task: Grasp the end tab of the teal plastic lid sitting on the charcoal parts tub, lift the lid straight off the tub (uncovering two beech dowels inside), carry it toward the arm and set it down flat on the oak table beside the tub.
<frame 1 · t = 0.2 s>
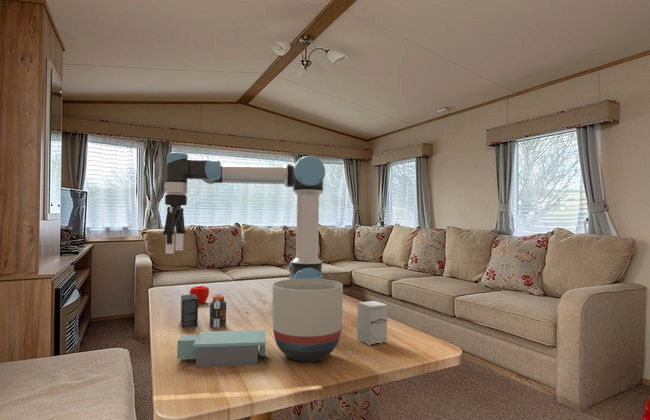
hand: (174, 252, 139), 28 cm above the table, fingers open, 13 cm apart
lid: (229, 339, 106), point 6 cm above the table, touching tub
pill bottle: (217, 326, 141), on the table
box: (188, 325, 143), on the table
dowel a: (241, 357, 107), point 1 cm above the table, touching tub
apple: (199, 303, 180), on the table
planter: (306, 358, 109), on the table
dowel b: (217, 359, 105), point 1 cm above the table, touching tub
supplement box: (371, 342, 125), on the table
tub: (229, 361, 106), on the table
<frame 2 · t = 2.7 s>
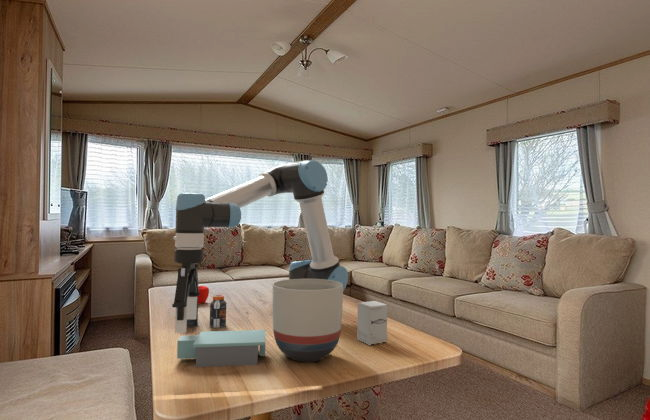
hand: (186, 325, 104), 10 cm above the table, fingers open, 13 cm apart
nothing on the table moved.
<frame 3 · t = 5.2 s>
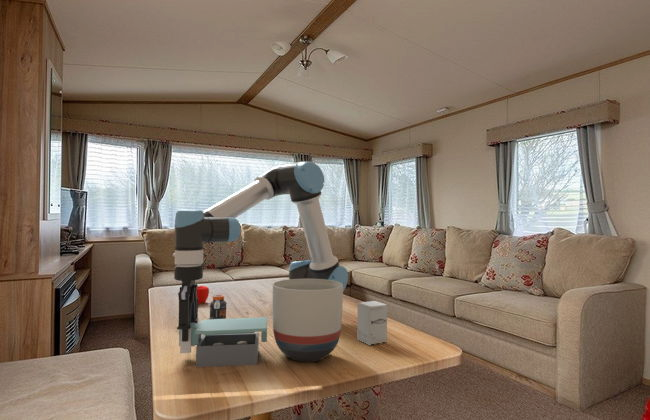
hand: (187, 349, 105), 4 cm above the table, fingers closed on lid, 4 cm apart
lid: (231, 326, 107), point 10 cm above the table, touching gripper
everything else where it was.
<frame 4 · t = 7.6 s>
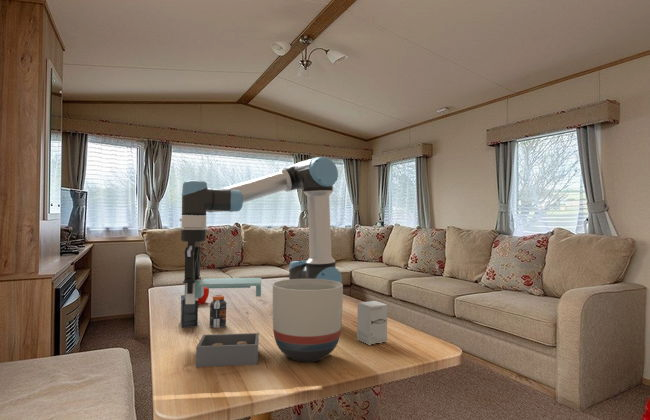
hand: (191, 301, 120), 13 cm above the table, fingers closed on lid, 4 cm apart
lid: (229, 283, 122), point 19 cm above the table, touching gripper
everything else where it was.
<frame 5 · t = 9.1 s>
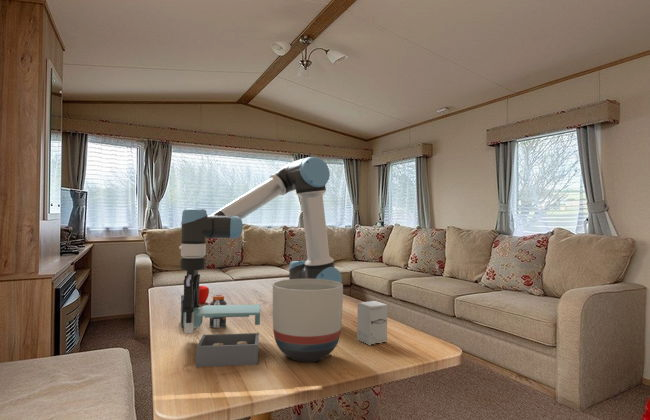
hand: (190, 330, 120), 4 cm above the table, fingers closed on lid, 4 cm apart
lid: (228, 311, 122), point 10 cm above the table, touching gripper
everything else where it was.
when the fingers open (0 cm above the table, at t = 10.2 s): lid drops 2 cm, point 4 cm above the table.
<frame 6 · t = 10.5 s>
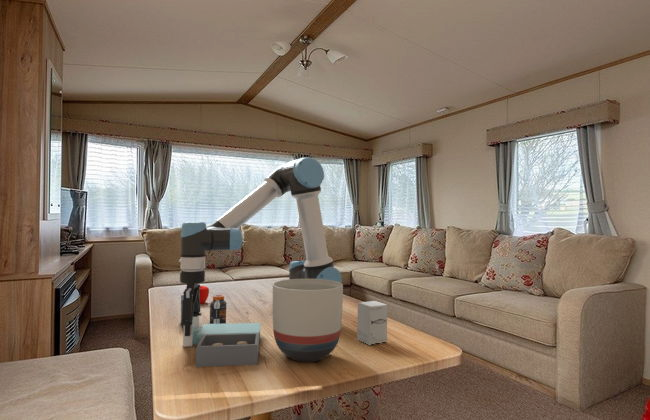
hand: (191, 341, 120), 1 cm above the table, fingers open, 9 cm apart
lid: (228, 330, 122), point 4 cm above the table
everything else where it was.
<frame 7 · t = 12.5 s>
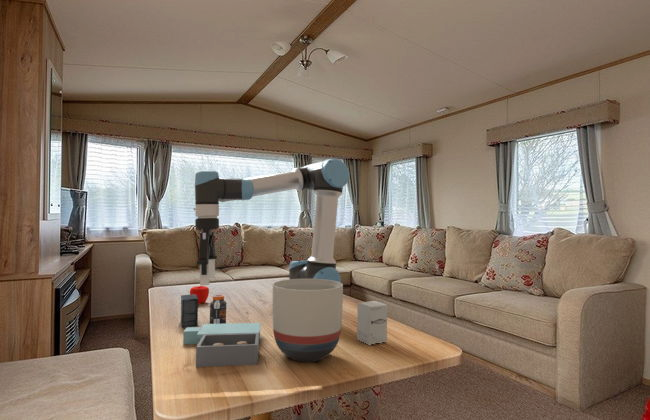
hand: (207, 281, 125), 19 cm above the table, fingers open, 13 cm apart
nothing on the table moved.
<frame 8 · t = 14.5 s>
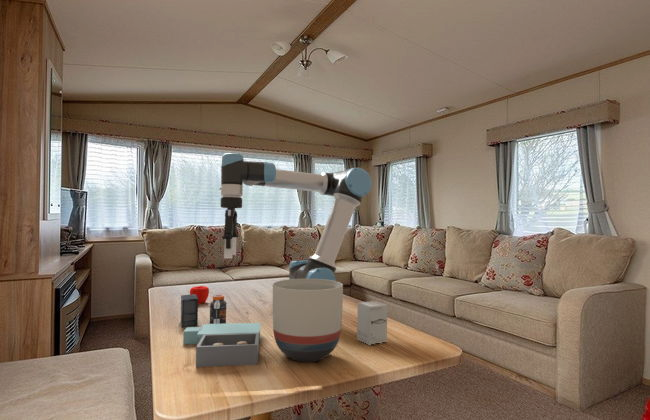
hand: (230, 256, 134), 27 cm above the table, fingers open, 13 cm apart
nothing on the table moved.
at the end: lid inside the target area (0.1 cm from its centre), point 4.0 cm above the table; lid touching table; lid tilted 0° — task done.
